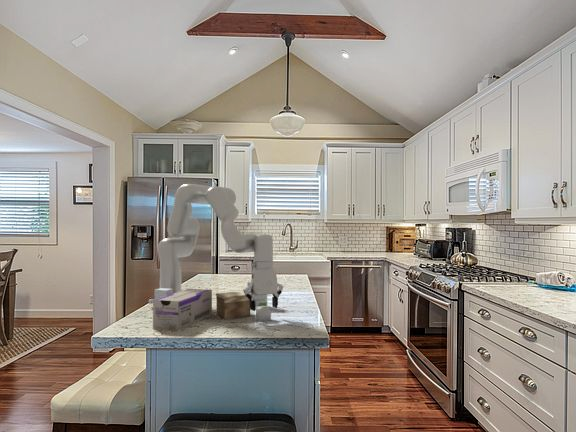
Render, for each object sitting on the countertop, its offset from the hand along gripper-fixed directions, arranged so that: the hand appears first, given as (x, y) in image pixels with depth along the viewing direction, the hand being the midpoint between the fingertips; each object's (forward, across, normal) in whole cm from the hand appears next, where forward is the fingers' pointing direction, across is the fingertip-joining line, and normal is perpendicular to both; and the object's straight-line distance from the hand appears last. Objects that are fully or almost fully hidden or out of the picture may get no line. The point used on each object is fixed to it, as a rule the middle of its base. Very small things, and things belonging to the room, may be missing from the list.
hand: (264, 308), depth 152 cm
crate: (+4, -8, +13) cm, 16 cm away
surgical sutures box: (+4, -28, +14) cm, 31 cm away
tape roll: (+4, 0, 0) cm, 5 cm away
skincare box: (+4, -34, +21) cm, 41 cm away
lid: (-2, -8, +13) cm, 15 cm away
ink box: (+4, +8, +22) cm, 24 cm away
